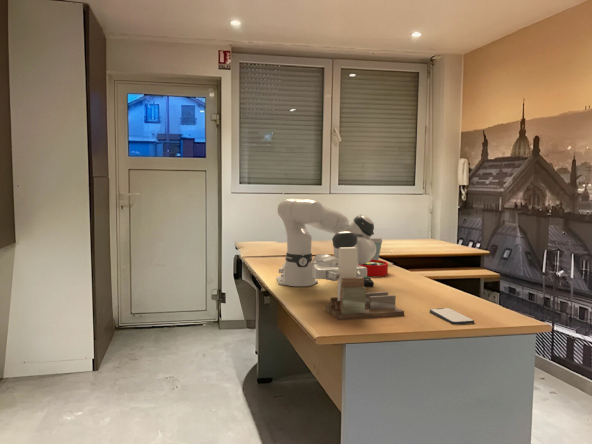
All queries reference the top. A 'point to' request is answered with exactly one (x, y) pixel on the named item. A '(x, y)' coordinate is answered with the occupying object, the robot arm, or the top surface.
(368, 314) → the rack
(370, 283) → the disk drive
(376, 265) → the toy clock
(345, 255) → the cream rectangular board
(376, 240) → the disposable coffee cup
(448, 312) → the smartphone
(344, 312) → the block
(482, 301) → the top surface
